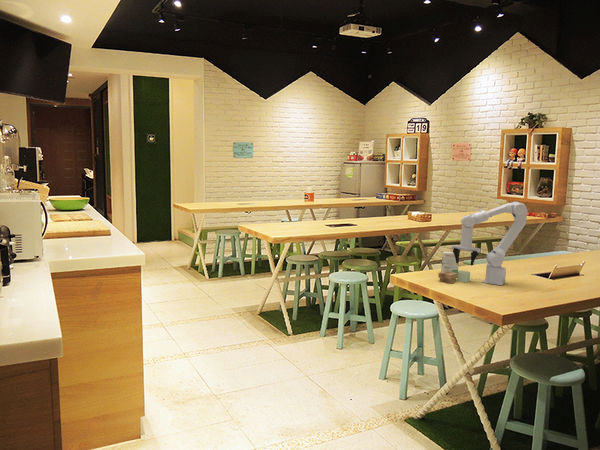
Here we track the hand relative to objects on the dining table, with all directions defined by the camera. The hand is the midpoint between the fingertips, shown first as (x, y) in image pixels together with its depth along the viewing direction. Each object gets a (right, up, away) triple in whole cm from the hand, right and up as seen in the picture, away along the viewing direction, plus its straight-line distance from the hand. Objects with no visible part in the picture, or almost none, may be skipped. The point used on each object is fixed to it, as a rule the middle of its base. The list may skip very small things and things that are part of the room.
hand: (464, 264), depth 267 cm
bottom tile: (-9, -10, -1) cm, 13 cm away
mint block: (0, -9, +1) cm, 9 cm away
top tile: (-9, -7, -1) cm, 12 cm away
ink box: (-3, -7, +18) cm, 19 cm away
